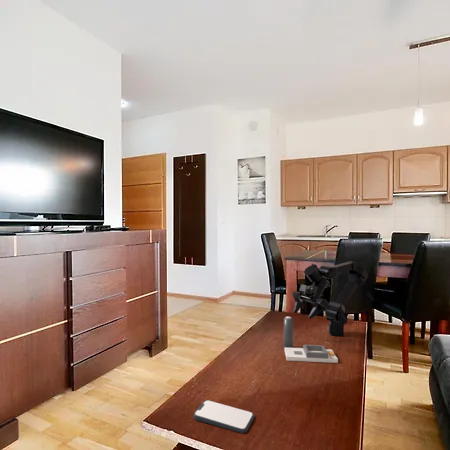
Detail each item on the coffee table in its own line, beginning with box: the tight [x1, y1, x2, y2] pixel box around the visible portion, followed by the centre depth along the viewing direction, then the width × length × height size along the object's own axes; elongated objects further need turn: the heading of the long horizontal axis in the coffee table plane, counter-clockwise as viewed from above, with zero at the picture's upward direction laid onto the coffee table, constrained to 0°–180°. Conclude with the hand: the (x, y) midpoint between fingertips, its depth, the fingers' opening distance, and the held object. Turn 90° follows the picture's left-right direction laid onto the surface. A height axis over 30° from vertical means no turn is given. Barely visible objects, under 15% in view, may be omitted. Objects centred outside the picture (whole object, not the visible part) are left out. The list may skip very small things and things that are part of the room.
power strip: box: [284, 344, 339, 364], centre depth 133 cm, size 20×10×4 cm, turn 85°
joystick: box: [283, 316, 294, 350], centre depth 142 cm, size 4×4×14 cm
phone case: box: [193, 399, 255, 434], centre depth 91 cm, size 9×2×16 cm
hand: (301, 315), depth 146 cm, fingers open, 9 cm apart
